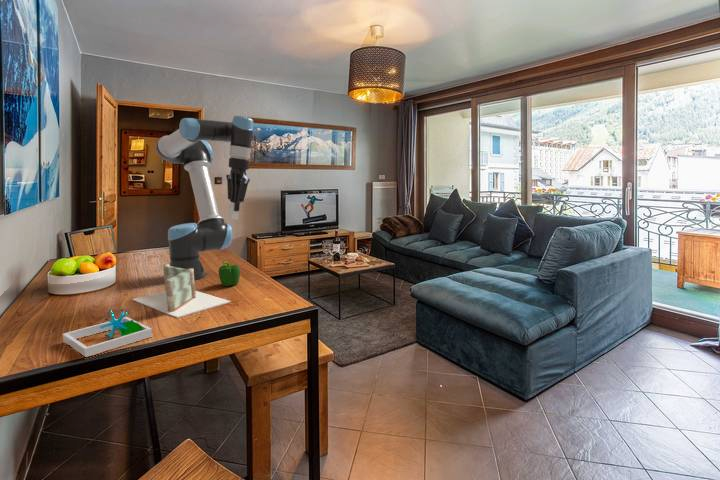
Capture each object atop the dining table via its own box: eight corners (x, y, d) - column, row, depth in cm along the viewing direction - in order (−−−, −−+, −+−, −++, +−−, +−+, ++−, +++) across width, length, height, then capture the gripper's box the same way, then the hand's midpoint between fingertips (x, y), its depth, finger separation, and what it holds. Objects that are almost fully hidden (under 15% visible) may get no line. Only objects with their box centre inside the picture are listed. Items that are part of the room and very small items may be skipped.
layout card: (132, 300, 138) (132, 298, 138) (183, 287, 153) (183, 286, 153) (177, 318, 119) (177, 316, 119) (230, 302, 134) (230, 300, 134)
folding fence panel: (187, 297, 137) (185, 270, 136) (193, 297, 137) (190, 270, 136) (166, 311, 123) (163, 280, 122) (172, 311, 123) (170, 280, 122)
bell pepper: (236, 281, 163) (235, 257, 161) (243, 285, 156) (242, 261, 154) (216, 284, 158) (214, 260, 156) (222, 288, 151) (220, 263, 150)
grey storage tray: (63, 342, 102) (62, 333, 101) (127, 324, 114) (126, 316, 114) (86, 358, 92) (84, 348, 92) (152, 337, 105) (151, 328, 104)
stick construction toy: (92, 331, 104) (110, 304, 107) (108, 336, 110) (124, 311, 113) (129, 346, 102) (145, 319, 105) (143, 351, 108) (159, 325, 111)
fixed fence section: (197, 297, 139) (194, 268, 137) (191, 298, 137) (189, 270, 136) (169, 290, 148) (167, 263, 146) (164, 292, 146) (161, 264, 144)
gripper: (257, 160, 146) (251, 222, 150) (238, 158, 154) (233, 216, 158) (240, 158, 141) (234, 221, 144) (221, 155, 149) (216, 215, 152)
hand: (233, 218), depth 151 cm, fingers closed
